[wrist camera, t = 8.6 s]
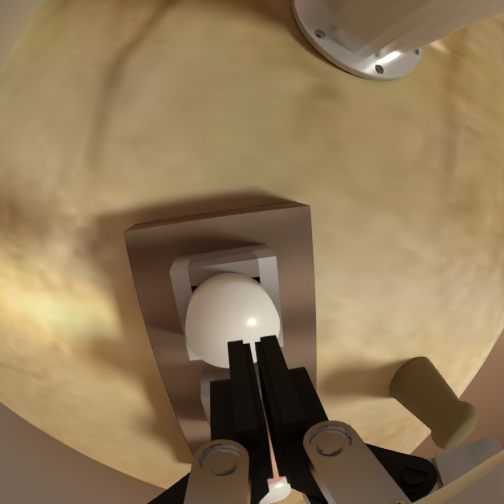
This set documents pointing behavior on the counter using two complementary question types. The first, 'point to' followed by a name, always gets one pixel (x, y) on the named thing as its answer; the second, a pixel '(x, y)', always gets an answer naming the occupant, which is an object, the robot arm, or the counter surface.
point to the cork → (433, 402)
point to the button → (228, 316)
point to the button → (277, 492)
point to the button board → (213, 263)
